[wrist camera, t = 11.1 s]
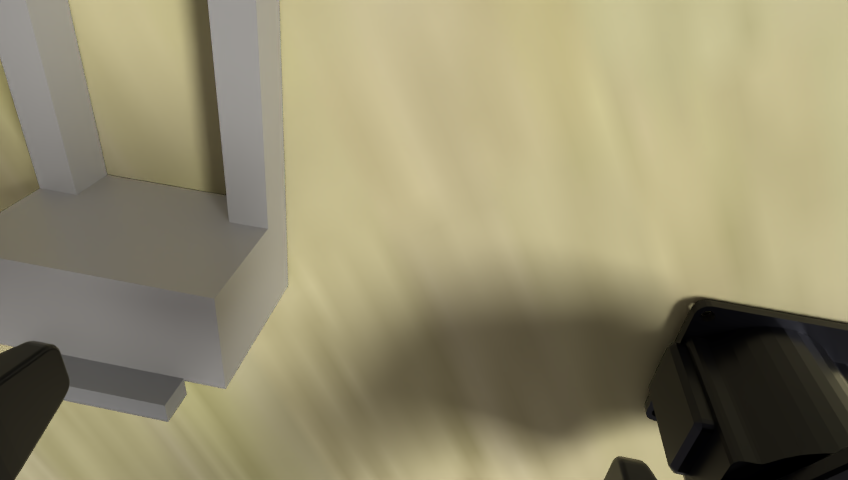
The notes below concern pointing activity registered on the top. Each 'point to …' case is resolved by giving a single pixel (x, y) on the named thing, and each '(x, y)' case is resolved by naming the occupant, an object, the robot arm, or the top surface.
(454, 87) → the top surface
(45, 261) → the dock
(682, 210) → the top surface
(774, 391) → the robot arm
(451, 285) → the top surface
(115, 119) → the top surface
